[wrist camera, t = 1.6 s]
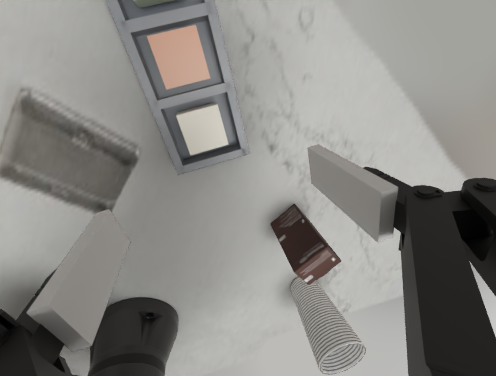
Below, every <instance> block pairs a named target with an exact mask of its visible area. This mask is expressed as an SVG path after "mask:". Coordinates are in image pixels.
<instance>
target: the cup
mask: <svg viewBox="0 0 496 376" xmlns="http://www.w3.org/2000/svg"><path fill="white" fill-rule="evenodd" d="M290 288H291V292H292V295H293V298H294V301H295V304H296V306H297V309H298V312H299V315H300V317H301V320H302V323H303V326H304V328H305V331H306V334H307V337H308V340H309V342H310V345H311V348H312V351H313V353H314V356H315V359H316V362H317V364H318V367H319V369H320V371H321V372H322V373H324V374H336V373H340V372H343V371H346V370H347V369H349V368H351V367H352V366H354V365H355V364H357V363H358V362H359V361H360V360H361V359H362V358H363V356H364V355H365V351H366V347H365V346H364V344H363V343H362V342H361V340H360V339H359V338H358V336H357V335H356V334H355V332H354V331H353V330H352V328H351V327H350V326H349V324H348V323H347V322H346V320H345V319H344V317H343V316H342V315H341V313H340V312H339V311H338V309H337V308H336V307H335V305H334V304H333V302H332V301H331V300H330V298H329V297H328V296H327V294H326V293H325V292H324V290H323V289H322V288H321V286H320V285H319V284H318V282H317V281H314V282H313V283H312V284H310V285H308V284H307V283H305V282H304V281H303V280H302V279H301V278H300V277H297V278H296V279H295V280H294V281H293V282H292V284H291V286H290Z"/></svg>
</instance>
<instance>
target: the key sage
mask: <svg viewBox="0 0 496 376" xmlns="http://www.w3.org/2000/svg"><path fill="white" fill-rule="evenodd" d="M170 1H174V0H134V2H135V3H136V5H137V6H138V7H139V8H143V7H147V6H152V5H156V4H161V3H165V2H170Z"/></svg>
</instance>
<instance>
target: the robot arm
mask: <svg viewBox="0 0 496 376" xmlns="http://www.w3.org/2000/svg"><path fill="white" fill-rule="evenodd" d="M308 156H309V165H310V174H311V183H312V184H313V185H314V186H315V187H316V188H317V189H318V190H319V191H321V192H322V193H323V194H324V195H325V196H326V197H327V198H328V199H330V200H331V201H332V202H333V203H334V204H335V205H336V206H337V207H338V208H340V209H341V210H342V211H343V212H344V213H345V214H346V215H347V216H349V217H350V218H351V219H352V220H353V221H354V222H355V223H356V224H358V225H359V226H360V227H361V228H362V229H363V230H364V231H365V232H367V233H368V234H369V235H370V236H371V237H372V238H373V239H374V240H375V241H377V242H378V243H379V242H382V241H384V240H387V239H390V238H393V231H394V227H395V228H396V229H397V230H399V231H400V232H401V236H400V243H399V251H401V260H402V277H403V293H404V308H405V326H406V342H407V359H408V374H409V376H496V337H495V334H494V332H493V329H492V326H491V323H490V320H489V317H488V315H487V311H486V308H485V306H484V303H483V300H482V297H481V294H480V291H479V289H478V285H477V283H476V280H475V277H474V274H473V271H472V269H471V265H470V262H471V263H472V265H473V266H474V267H475V269H476V270H477V272H478V273H479V274H480V276H481V277H482V278H483V280H484V281H485V282H486V284H487V285H488V287H489V288H490V289H491V290H492V292H493V293H494V295H495V296H496V180H494V179H487V178H474V179H468V180H466V181H464V183H463V186H462V190H461V191H452V192H444V191H442V190H440V189H438V188H435V187H432V186H425V185H420V186H413V187H411V186H409V185H407V184H405V183H403V182H401V181H399V180H397V179H395V178H393V177H390V176H389V175H387V174H384V173H383V172H381V171H379V170H377V169H374V168H370V167H364V168H362V167H360V166H358V165H356V164H354V163H352V162H350V161H348V160H347V159H345V158H343V157H341V156H339V155H337V154H335V153H334V152H332V151H330V150H328V149H326V148H324V147H322V146H320V145H319V144H318V145H315V146H311V147H308ZM129 245H130V240H129V239H128V237H127V236H126V234H125V233H124V231H123V230H122V228H121V227H120V225H119V223H118V222H117V220H116V219H115V217H114V216H113V214H112V213H111V211H110V210H109V209H108V210H104V211H101V212H98V213H96V214H95V216H94V217H93V219H92V220H91V222H90V223H89V224H88V226H87V227H86V229H85V230H84V231H83V233H82V234H81V236H80V237H79V239H78V240H77V241H76V243H75V244H74V246H73V247H72V249H71V250H70V251H69V253H68V254H67V256H66V257H65V258H64V260H63V261H62V263H61V264H60V266H59V267H58V268H57V269H56V270H55V271H54V272H53V273H52V274H51V275H50V276H48V277H47V279H46V280H45V281H44V283H43V284H42V286H41V289H39V290H38V291H37V293H36V294H35V297H33V298H32V299H31V301H30V302H29V304H28V305H27V306H26V308H25V309H24V311H23V312H22V313H21V315H20V316H19V317H18V319H17V320H15V319H13V318H12V317H11V316H9V315H8V314H7V313H6V312H4V311H3V310H2V309H0V376H78V375H72V374H71V372H70V370H69V367H68V365H67V363H66V361H65V359H64V358H62V357H61V356H60V355H59V354H60V352H61V350H62V348H63V346H64V345H65V346H66V347H67V348H68V349H70V350H71V351H72V352H75V351H78V350H81V349H84V348H86V347H89V346H90V370H89V373H88V376H164V375H165V366H166V362H167V360H168V357H169V355H170V352H171V349H172V347H173V344H174V341H175V339H176V336H177V332H178V315H177V313H176V311H175V310H174V309H173V308H172V307H171V306H169V305H168V304H166V303H164V302H162V301H159V300H155V299H148V298H136V299H129V300H124V301H121V302H118V303H116V304H113V305H111V306H110V307H108V308H107V309H106V306H107V304H108V301H109V298H110V296H111V293H112V290H113V288H114V285H115V282H116V280H117V277H118V274H119V272H120V269H121V266H122V264H123V261H124V258H125V256H126V253H127V250H128V248H129ZM469 261H470V262H469Z"/></svg>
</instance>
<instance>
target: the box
mask: <svg viewBox="0 0 496 376" xmlns="http://www.w3.org/2000/svg"><path fill="white" fill-rule="evenodd" d="M271 226H272V228H273V230H274V232H275V234H276V236H277V238H278V240H279V243H280V245H281V247H282V249H283V251H284V253H285V255H286V257H287V259H288V261H289V263H290V265H291V267H292V269H293V271H294V273H295V274H297V275H298V276H299V277H300V278H301V279H302V280H303V281H304V282H305V283H307V284H308V285H310V284H312V283H313V282H314V281H316V280H317V279H318V278H320V277H322V276H324V275H325V274H327V273H328V272H329V271H330V270H331V269H332V268H333V267H334V266H336V265H337V264H338V263H340V262H341V260H340V258H339V257H338V256H337V255H336V253H335V252H334V251H333V250H332V248H331V247H330V246H329V245H328V243H327V242H326V241H325V240H324V238H323V237H322V236H321V235H320V233H319V232H318V231H317V230H316V228H315V227H314V226H313V225H312V223H311V222H310V221H309V220H308V219H307V217H306V216H305V215H304V214H303V213H302V212H301V210H300V209H299V208H298V207H297V206H296V205H295V204H294V205H293V206H292V207H291V208H289V209H288V210H287V211H286V212H285V213H284V214H282V215H281V216H280V217H279V218H278V219H276V220H275V221H274V222H272V223H271Z"/></svg>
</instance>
